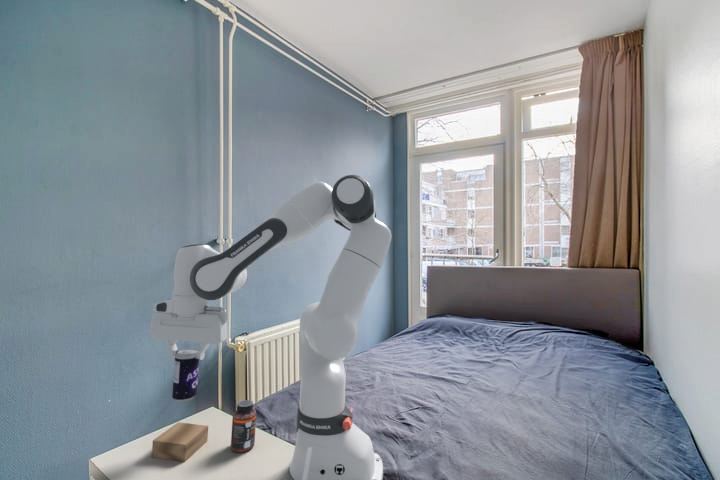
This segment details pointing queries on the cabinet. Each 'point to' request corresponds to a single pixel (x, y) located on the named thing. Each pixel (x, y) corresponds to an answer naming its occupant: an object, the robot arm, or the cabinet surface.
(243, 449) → the supplement bottle
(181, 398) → the beverage can
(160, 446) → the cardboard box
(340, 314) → the robot arm
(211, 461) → the cabinet surface
